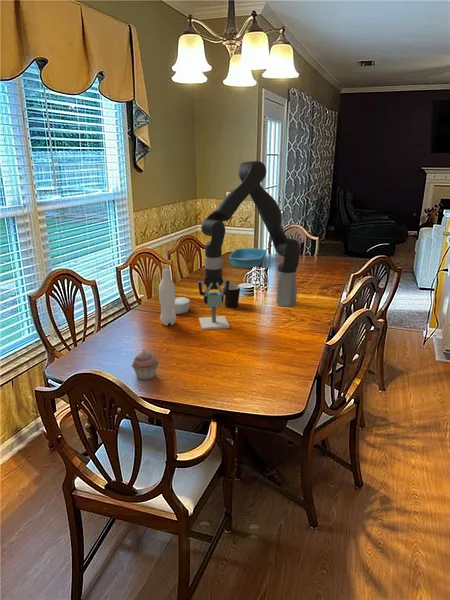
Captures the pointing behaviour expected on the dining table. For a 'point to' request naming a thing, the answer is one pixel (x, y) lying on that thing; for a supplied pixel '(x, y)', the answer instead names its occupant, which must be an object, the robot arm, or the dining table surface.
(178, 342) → the dining table surface
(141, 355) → the cupcake
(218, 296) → the collar
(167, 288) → the water bottle
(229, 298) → the coffee mug
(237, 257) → the casserole dish
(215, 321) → the post stand
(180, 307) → the ramekin
